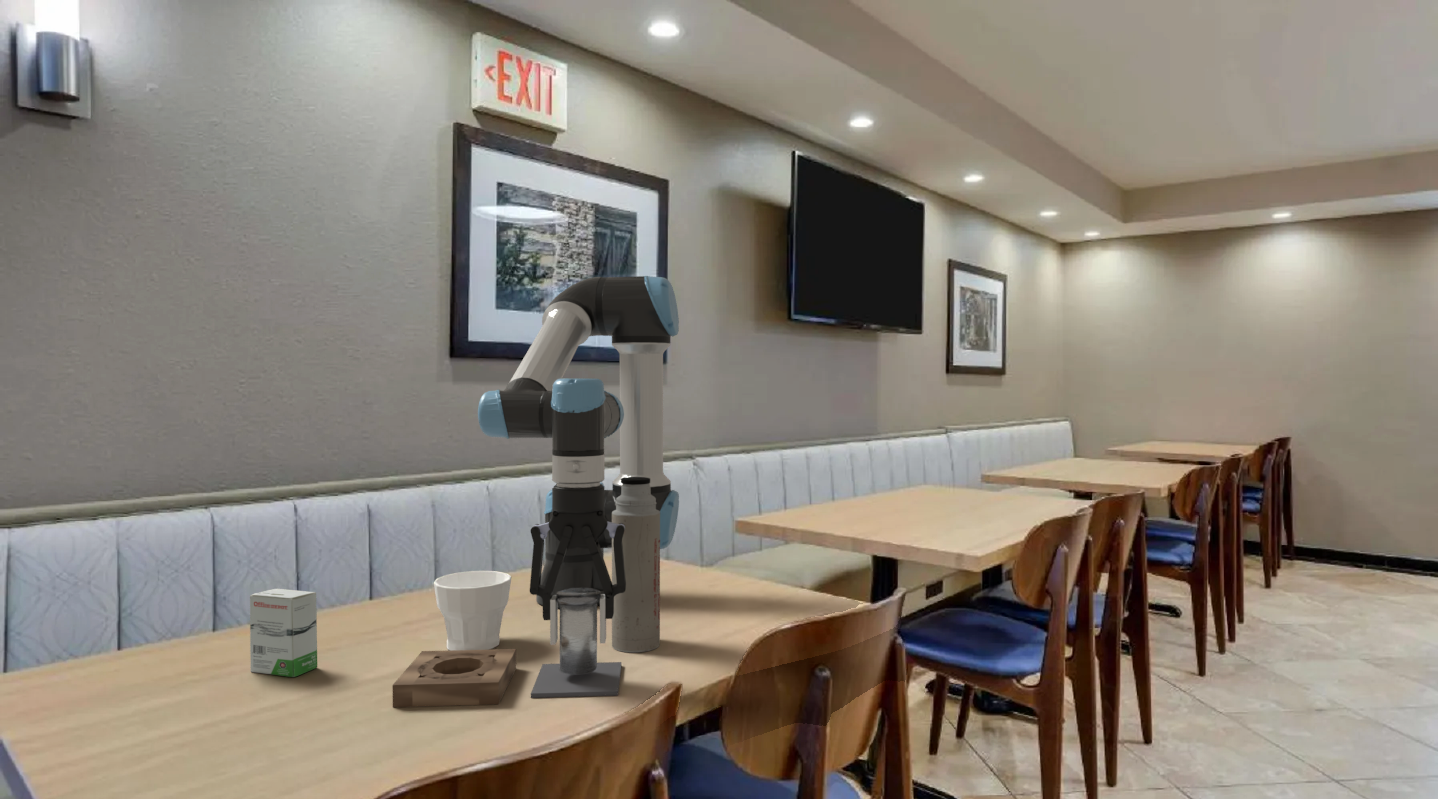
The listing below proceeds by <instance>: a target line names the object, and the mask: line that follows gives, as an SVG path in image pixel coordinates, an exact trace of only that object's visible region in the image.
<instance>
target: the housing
mask: <svg viewBox="0 0 1438 799" xmlns="http://www.w3.org/2000/svg"><path fill="white" fill-rule="evenodd" d="M516 669H517V649H516V648H507V649H506V648H504V649H503V648H502V649H500V648H499V649H498V648H497V649H495V648H492V649H490V650H448V649H447V650H421V652H420V653H419V654H418V655H417V656H416V658H414V660H413V661H412V662H411V664H410V665H409V666H408V667H407V668H406V669H404V671H403V673H401V675H400V676H399V677H398V678H397V680H395V681H394V683H393V684H392V708H410V707H411V708H414V707H416V708H417V707H447V706H451V707H452V706H478V705H479V706H485V705H486V706H488V705H489V706H490V705H499V704H500V702H501V701H502V699H503V696H504V694H505V692H506V690H507V688H508V686H509V684H510V682H511V679H512V677H513V676H514V674H515V672H516Z"/></svg>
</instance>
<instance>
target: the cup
mask: <svg viewBox="0 0 1438 799" xmlns="http://www.w3.org/2000/svg"><path fill="white" fill-rule="evenodd" d="M511 583H512V576H511V575H510V574H508V573H507V572H502V571H496V570H495V571H494V570H470V571H469V570H468V571H459V572H455V573H450V574H449V573H448V574H445V575H443V576H440V577H437V578H436V579H435V580H434V582H433V590H434V596H435V600H436V607H437V609H439V611H440V613H441V615H442V616H443V618H444V619H443V620H444V624H445V631H446V635H447V639H446V648H447V651H448V650H492V649H495V648H496V647H498V646H499V645H500V633H501V627H502V626H501V625H502V621H503V616H504V611H505V609H506V607H507V605H508V602H509V598H510V591H511Z"/></svg>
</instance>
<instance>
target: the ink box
mask: <svg viewBox="0 0 1438 799" xmlns="http://www.w3.org/2000/svg"><path fill="white" fill-rule="evenodd" d="M249 619H250V620H249V624H250V628H249V631H250V632H249V634H250V635H249V638H250V639H249V640H250V641H249V642H250V644H249V645H250V648H249V649H250V650H249V652H250V653H249V654H250V672H251V673H256V674H257V673H258V674H264V675H265V674H266V675H273V676H278V677H279V676H281V677H287V678H297V677H298V676H301V675H304V674H305V673H308V672H309V671H312V670H315V669H317V668H318V626H317V622H318V621H317V619H318V618H317V592H315V591H305V590H295V589H285V588H284V589H283V588H277V587H276V588H273V589H267V590H264V591H260V592H255V593H252V594H250V595H249Z"/></svg>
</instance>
